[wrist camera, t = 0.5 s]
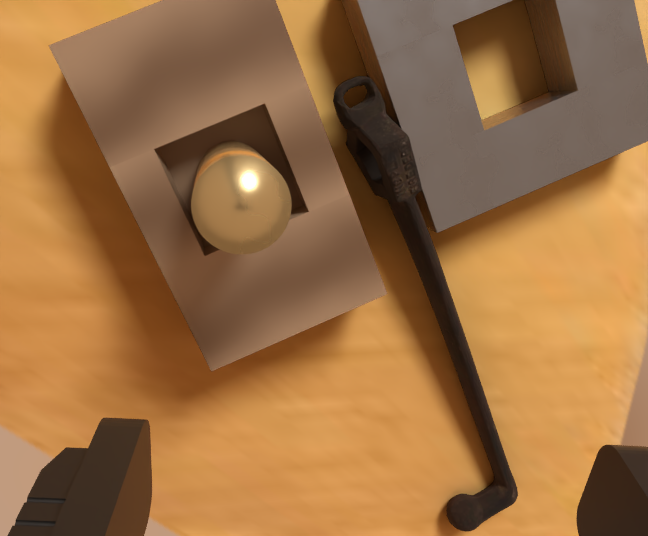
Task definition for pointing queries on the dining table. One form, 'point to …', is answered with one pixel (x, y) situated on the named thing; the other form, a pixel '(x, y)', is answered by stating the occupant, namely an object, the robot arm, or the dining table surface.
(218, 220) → the gold round-topped peg
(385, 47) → the block
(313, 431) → the dining table surface
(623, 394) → the dining table surface
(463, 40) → the dining table surface
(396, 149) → the wrench
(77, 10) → the dining table surface
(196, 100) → the brown recessed block
